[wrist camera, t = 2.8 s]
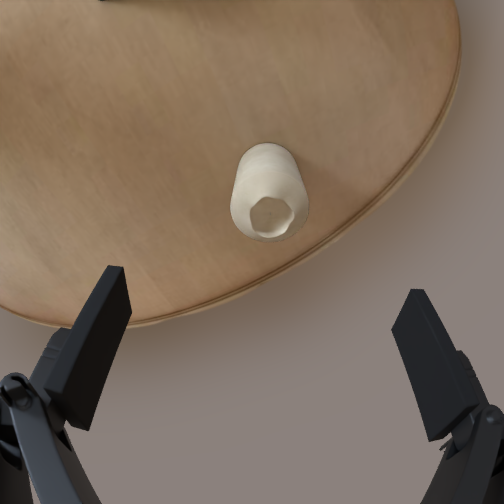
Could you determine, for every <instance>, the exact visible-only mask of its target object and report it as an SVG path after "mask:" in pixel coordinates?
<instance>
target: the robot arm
mask: <svg viewBox="0 0 504 504" xmlns="http://www.w3.org/2000/svg"><path fill="white" fill-rule="evenodd" d="M131 314H132V309H131V305H130V300H129V295H128V290H127V284H126V279H125V273H124V268H123V267H120V266H110V265H108V266H107V268H106V269H105V271H104V273H103V274H102V276H101V278H100V279H99V281H98V283H97V284H96V286H95V288H94V289H93V291H92V293H91V294H90V296H89V298H88V300H87V301H86V303H85V305H84V307H83V308H82V310H81V312H80V314H79V316H78V317H77V319H76V321H75V323H74V325H73V327H72V328H71V329H67V328H62V327H61V328H60V329H59V330H58V331H57V332H55V333H54V334H53V335H52V337H51V339H50V340H49V342H48V344H47V347H46V348H45V350H44V351H43V354H42V356H41V357H40V359H39V361H38V363H37V365H36V367H35V369H34V371H33V373H32V375H31V377H30V379H29V380H28V379H27V377H25V376H24V375H23V374H21V373H10V374H8V375H7V376H5V377H4V378H3V379H2V380H1V382H0V504H33V499H32V493H31V488H30V481H29V475H30V478H31V481H32V483H33V485H34V488H35V491H36V493H37V496H38V498H39V500H40V503H41V504H102V503H101V502H100V500H99V498H98V496H97V495H96V493H95V491H94V489H93V487H92V485H91V483H90V482H89V480H88V478H87V476H86V474H85V472H84V470H83V468H82V466H81V464H80V461H79V459H78V457H77V455H76V453H75V451H74V448H73V446H72V444H71V442H70V439H69V437H68V434H67V432H66V430H65V428H64V424H65V421H66V420H67V421H68V422H69V424H70V425H71V426H73V427H76V428H79V429H82V430H86V431H89V429H90V426H91V423H92V420H93V417H94V413H95V410H96V407H97V404H98V401H99V399H100V396H101V393H102V390H103V387H104V384H105V381H106V378H107V376H108V373H109V370H110V367H111V365H112V362H113V360H114V357H115V354H116V351H117V349H118V347H119V344H120V341H121V339H122V336H123V334H124V331H125V329H126V326H127V324H128V321H129V319H130V317H131ZM391 330H392V333H393V336H394V338H395V341H396V343H397V346H398V349H399V351H400V354H401V357H402V359H403V362H404V365H405V368H406V371H407V374H408V377H409V380H410V382H411V385H412V388H413V391H414V394H415V397H416V401H417V404H418V407H419V410H420V413H421V416H422V420H423V423H424V426H425V430H426V433H427V437H428V440H429V442H431V441H435V440H440V439H443V438H444V437H445V436H447V435H448V434H449V433H450V432H451V433H452V438H451V439H450V440H449V441H447V442H446V443H445V444H444V445H442V446H441V448H440V449H439V450H440V451H441V450H442V449H443V448H445V447H446V446H447V447H446V450H445V451H444V455H443V457H442V460H441V462H440V464H439V466H438V469H437V471H436V473H435V475H434V477H433V479H432V482H431V484H430V486H429V488H428V490H427V492H426V494H425V496H424V498H423V500H422V502H421V503H420V504H504V414H503V413H502V411H501V410H500V409H499V408H498V407H497V406H495V405H490V404H489V403H488V400H487V398H486V396H485V393H484V391H483V389H482V387H481V384H480V382H479V380H478V378H477V377H476V374H475V371H474V370H473V367H472V366H471V363H470V361H469V359H468V358H467V357H466V355H465V354H464V353H463V352H462V351H461V350H460V351H456V349H455V347H454V345H453V343H452V341H451V339H450V337H449V335H448V333H447V331H446V329H445V327H444V325H443V323H442V322H441V320H440V318H439V316H438V314H437V312H436V310H435V309H434V307H433V305H432V303H431V301H430V300H429V298H428V296H427V294H426V293H425V291H424V290H423V289H411V290H410V292H409V294H408V296H407V299H406V301H405V303H404V305H403V307H402V309H401V311H400V313H399V315H398V317H397V319H396V321H395V324H394V325H393V327H392V329H391ZM28 473H29V475H28Z"/></svg>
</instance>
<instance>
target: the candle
mask: <svg viewBox="0 0 504 504" xmlns="http://www.w3.org/2000/svg"><path fill="white" fill-rule="evenodd" d="M230 209H231V215H232V218H233V221H234V223H235V224H236V226H237V227H238V228H239V230H240V231H241V232H242V233H244V234H245V235H246V236H248V237H250V238H252V239H254V240H257V241H262V242H278V241H282V240H285V239H287V238H289V237H291V236H293V235H294V234H296V233H297V232H298V231H299V230H300V229H301V228H302V226H303V225H304V223H305V222H306V219H307V217H308V213H309V199H308V196H307V193H306V190H305V187H304V184H303V181H302V178H301V176H300V173H299V170H298V167H297V164H296V162H295V160H294V158H293V156H292V155H291V154H290V153H289V152H288V151H287V150H286V149H285V148H283V147H281V146H279V145H277V144H272V143H263V144H258V145H256V146H254V147H252V148H250V149H249V150H248V151H247V152H246V153H245V154H244V155H243V156H242V158H241V160H240V162H239V166H238V170H237V175H236V179H235V184H234V189H233V194H232V198H231V206H230Z"/></svg>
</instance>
